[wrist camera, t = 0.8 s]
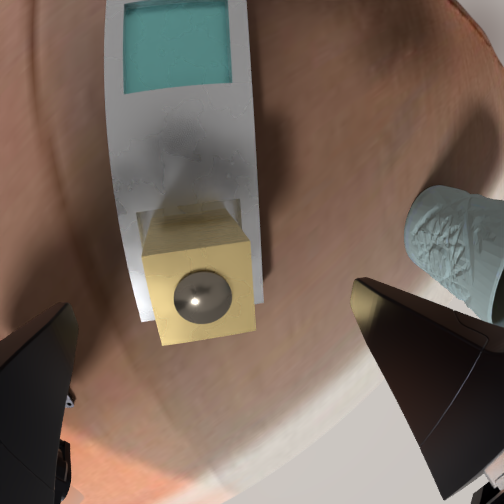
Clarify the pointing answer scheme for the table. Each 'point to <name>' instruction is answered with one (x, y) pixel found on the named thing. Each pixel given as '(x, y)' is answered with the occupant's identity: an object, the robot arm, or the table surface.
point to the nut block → (199, 276)
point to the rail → (180, 120)
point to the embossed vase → (460, 246)
